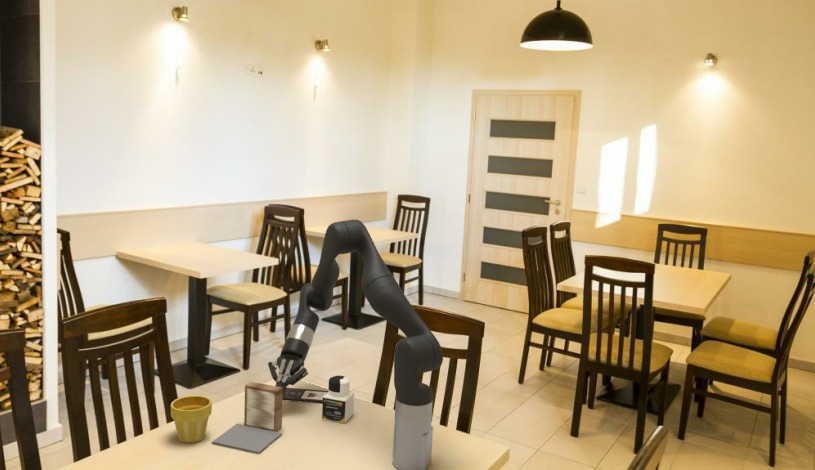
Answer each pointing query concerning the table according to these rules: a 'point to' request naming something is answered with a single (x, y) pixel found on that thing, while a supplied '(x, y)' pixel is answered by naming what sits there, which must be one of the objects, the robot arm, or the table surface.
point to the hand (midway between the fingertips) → (277, 395)
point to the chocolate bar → (304, 395)
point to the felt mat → (247, 438)
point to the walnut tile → (263, 406)
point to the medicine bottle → (338, 400)
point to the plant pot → (191, 417)
